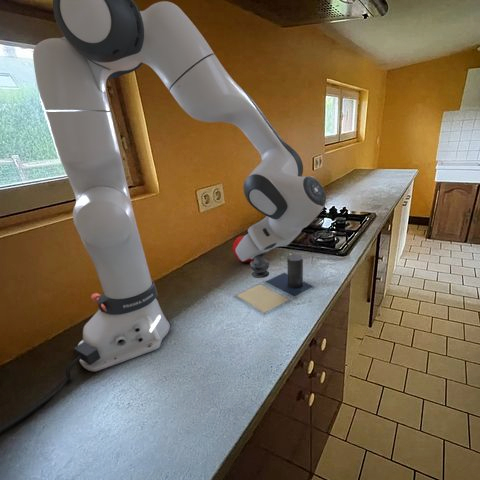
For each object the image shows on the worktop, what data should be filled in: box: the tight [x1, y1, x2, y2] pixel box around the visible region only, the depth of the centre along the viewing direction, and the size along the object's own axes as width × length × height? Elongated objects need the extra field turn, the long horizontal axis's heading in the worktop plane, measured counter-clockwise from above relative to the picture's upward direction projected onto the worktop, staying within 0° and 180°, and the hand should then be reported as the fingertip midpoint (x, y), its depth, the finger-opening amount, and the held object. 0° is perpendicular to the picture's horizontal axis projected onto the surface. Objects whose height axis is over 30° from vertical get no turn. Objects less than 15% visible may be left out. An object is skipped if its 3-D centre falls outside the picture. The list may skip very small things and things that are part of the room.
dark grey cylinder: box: [286, 254, 304, 289], centre depth 99 cm, size 5×5×10 cm
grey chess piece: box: [249, 252, 271, 279], centre depth 88 cm, size 6×6×12 cm
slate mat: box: [265, 272, 314, 298], centre depth 102 cm, size 9×14×1 cm, turn 42°
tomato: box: [232, 234, 254, 263], centre depth 119 cm, size 12×12×10 cm
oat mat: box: [235, 283, 289, 314], centre depth 95 cm, size 10×14×1 cm
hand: (257, 253), depth 88 cm, fingers closed on grey chess piece, 3 cm apart
